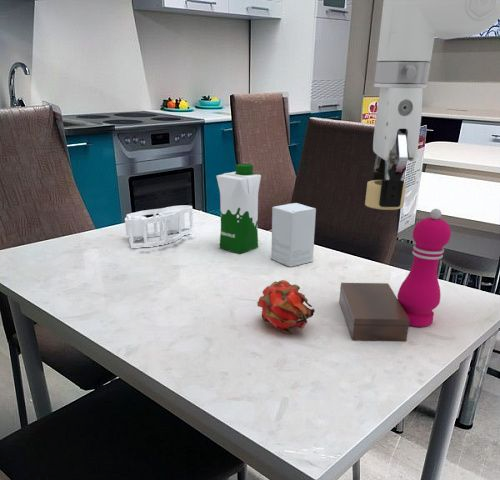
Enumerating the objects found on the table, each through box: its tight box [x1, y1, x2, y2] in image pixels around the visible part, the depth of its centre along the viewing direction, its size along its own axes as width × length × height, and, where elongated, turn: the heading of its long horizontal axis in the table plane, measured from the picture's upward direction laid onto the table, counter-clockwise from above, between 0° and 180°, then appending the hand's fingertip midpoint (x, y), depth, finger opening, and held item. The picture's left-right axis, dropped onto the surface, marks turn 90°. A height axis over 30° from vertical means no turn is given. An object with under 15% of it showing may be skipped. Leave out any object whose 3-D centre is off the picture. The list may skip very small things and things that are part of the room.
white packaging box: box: [270, 202, 317, 268], centre depth 117 cm, size 7×7×13 cm
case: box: [338, 282, 410, 342], centre depth 90 cm, size 9×16×4 cm, turn 179°
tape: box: [364, 180, 407, 211], centre depth 81 cm, size 6×6×4 cm
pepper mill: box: [396, 208, 452, 328], centre depth 87 cm, size 7×7×20 cm
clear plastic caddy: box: [124, 204, 194, 249], centre depth 133 cm, size 20×11×7 cm, turn 126°
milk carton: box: [215, 163, 262, 255], centre depth 123 cm, size 9×9×20 cm
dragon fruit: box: [256, 279, 316, 334], centre depth 87 cm, size 8×8×12 cm
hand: (384, 200), depth 81 cm, fingers closed on tape, 6 cm apart
